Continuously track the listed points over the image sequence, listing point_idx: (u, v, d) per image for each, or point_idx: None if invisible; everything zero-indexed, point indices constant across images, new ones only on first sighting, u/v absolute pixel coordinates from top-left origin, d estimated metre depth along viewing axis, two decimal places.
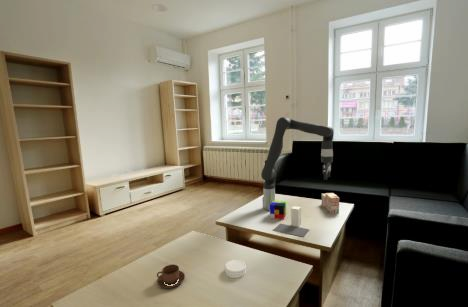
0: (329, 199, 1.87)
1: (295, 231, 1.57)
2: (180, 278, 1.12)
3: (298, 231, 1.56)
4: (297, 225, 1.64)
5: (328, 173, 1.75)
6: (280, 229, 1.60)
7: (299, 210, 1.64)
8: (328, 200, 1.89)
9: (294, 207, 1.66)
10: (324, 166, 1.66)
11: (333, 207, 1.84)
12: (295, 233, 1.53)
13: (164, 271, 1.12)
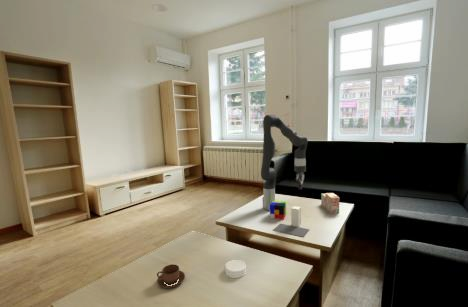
0: (329, 199, 1.87)
1: (295, 231, 1.57)
2: (180, 278, 1.12)
3: (298, 231, 1.56)
4: (297, 225, 1.64)
5: None
6: (280, 229, 1.60)
7: (299, 210, 1.64)
8: (328, 200, 1.89)
9: (294, 207, 1.66)
10: (297, 179, 1.66)
11: (334, 207, 1.85)
12: (295, 233, 1.53)
13: (164, 271, 1.12)
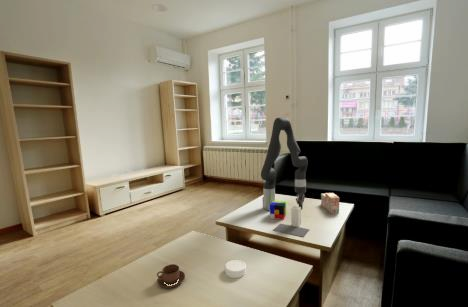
0: (329, 199, 1.87)
1: (295, 231, 1.57)
2: (180, 278, 1.12)
3: (298, 231, 1.56)
4: (297, 225, 1.64)
5: None
6: (280, 229, 1.60)
7: (299, 210, 1.64)
8: (328, 200, 1.89)
9: (294, 207, 1.66)
10: (297, 200, 1.67)
11: (334, 207, 1.85)
12: (295, 233, 1.53)
13: (164, 271, 1.12)
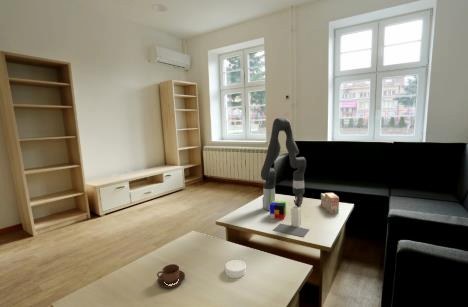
0: (329, 199, 1.87)
1: (295, 231, 1.57)
2: (180, 278, 1.12)
3: (298, 231, 1.56)
4: (297, 225, 1.64)
5: None
6: (280, 229, 1.60)
7: (299, 210, 1.64)
8: (328, 200, 1.90)
9: (294, 207, 1.66)
10: (295, 202, 1.64)
11: (333, 207, 1.85)
12: (295, 233, 1.53)
13: (164, 271, 1.12)
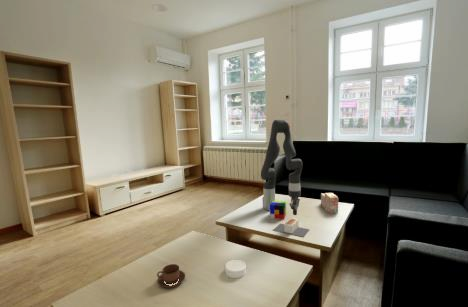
0: (328, 199, 1.88)
1: (295, 231, 1.57)
2: (180, 278, 1.13)
3: (298, 231, 1.56)
4: None
5: None
6: (280, 229, 1.60)
7: (292, 228, 1.54)
8: (327, 200, 1.90)
9: (286, 228, 1.55)
10: (291, 205, 1.58)
11: (332, 207, 1.85)
12: (295, 233, 1.53)
13: (164, 271, 1.12)
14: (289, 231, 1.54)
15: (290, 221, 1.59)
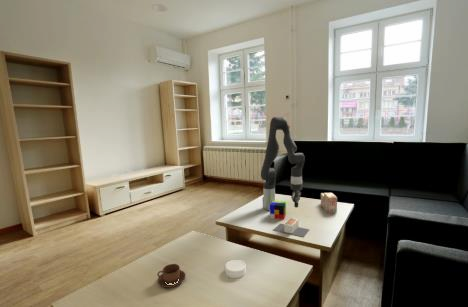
0: (327, 199, 1.88)
1: (295, 231, 1.57)
2: (181, 278, 1.13)
3: (298, 231, 1.56)
4: None
5: None
6: (280, 229, 1.60)
7: (292, 228, 1.54)
8: (326, 200, 1.90)
9: (286, 228, 1.55)
10: (293, 197, 1.63)
11: (331, 207, 1.85)
12: (295, 233, 1.53)
13: (165, 270, 1.12)
14: (289, 231, 1.54)
15: (290, 221, 1.59)
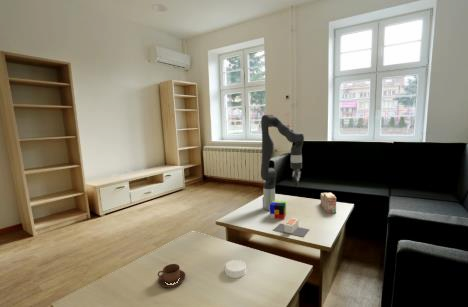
0: (326, 199, 1.88)
1: (295, 231, 1.57)
2: (181, 277, 1.13)
3: (298, 231, 1.56)
4: None
5: None
6: (280, 229, 1.60)
7: (292, 228, 1.54)
8: (325, 200, 1.91)
9: (286, 228, 1.55)
10: (293, 176, 1.65)
11: (330, 206, 1.86)
12: (295, 233, 1.53)
13: (165, 270, 1.13)
14: (289, 231, 1.54)
15: (290, 221, 1.59)
